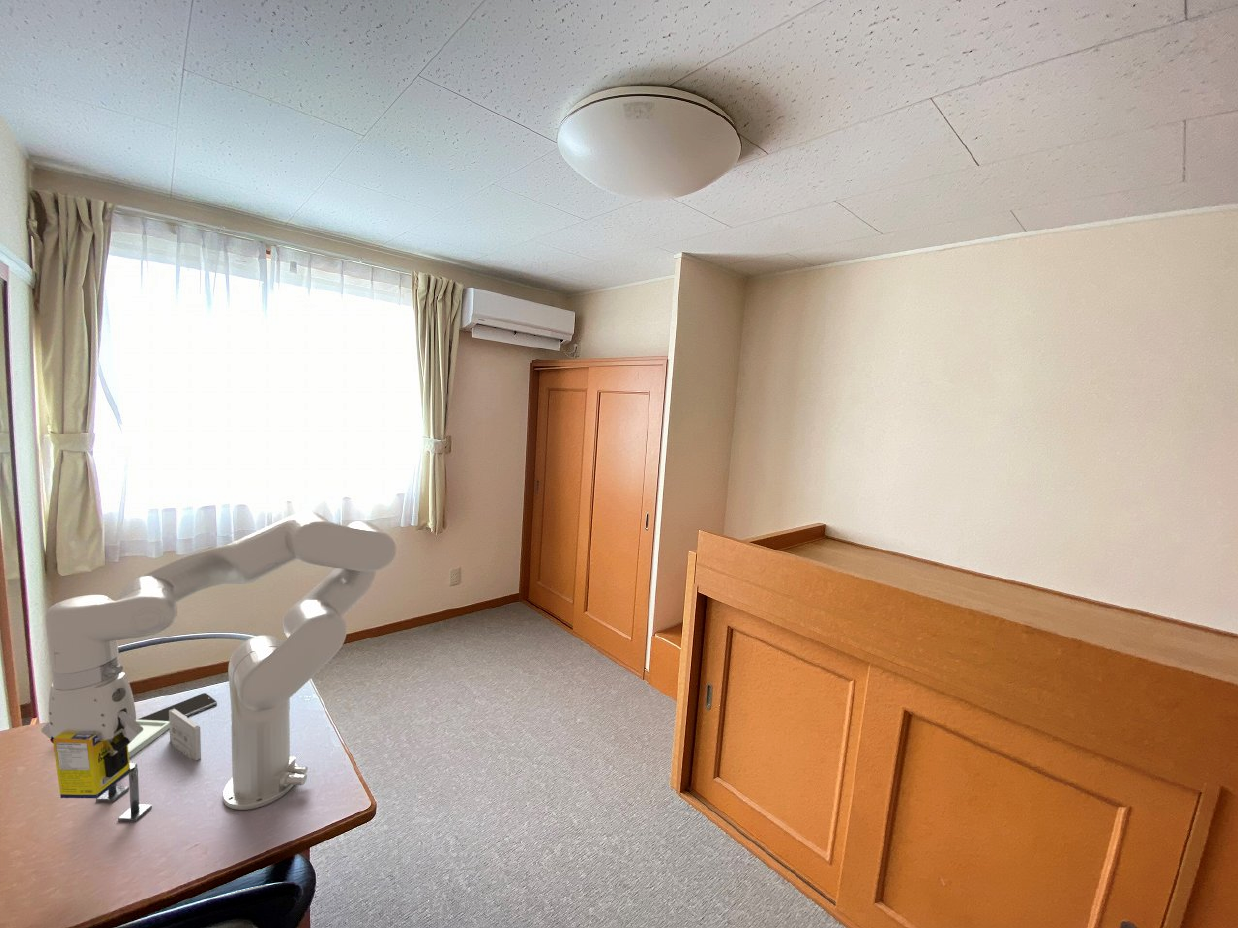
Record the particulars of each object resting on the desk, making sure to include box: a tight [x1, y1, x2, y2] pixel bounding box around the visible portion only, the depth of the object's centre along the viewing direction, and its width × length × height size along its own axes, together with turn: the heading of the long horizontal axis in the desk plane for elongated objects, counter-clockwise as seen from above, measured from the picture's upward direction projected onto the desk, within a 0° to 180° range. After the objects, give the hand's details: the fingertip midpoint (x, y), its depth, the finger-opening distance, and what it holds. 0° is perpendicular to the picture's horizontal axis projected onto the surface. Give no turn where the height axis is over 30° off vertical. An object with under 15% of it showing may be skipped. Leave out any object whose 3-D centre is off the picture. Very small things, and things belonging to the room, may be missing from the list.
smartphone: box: [136, 692, 218, 721], centre depth 120 cm, size 7×1×16 cm
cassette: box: [169, 709, 202, 761], centre depth 109 cm, size 12×2×8 cm, turn 63°
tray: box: [128, 718, 170, 759], centre depth 109 cm, size 12×12×1 cm
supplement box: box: [53, 729, 131, 799], centre depth 82 cm, size 6×6×11 cm
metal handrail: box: [95, 761, 153, 823], centre depth 96 cm, size 20×7×10 cm, turn 52°
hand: (96, 769), depth 83 cm, fingers closed on supplement box, 6 cm apart
